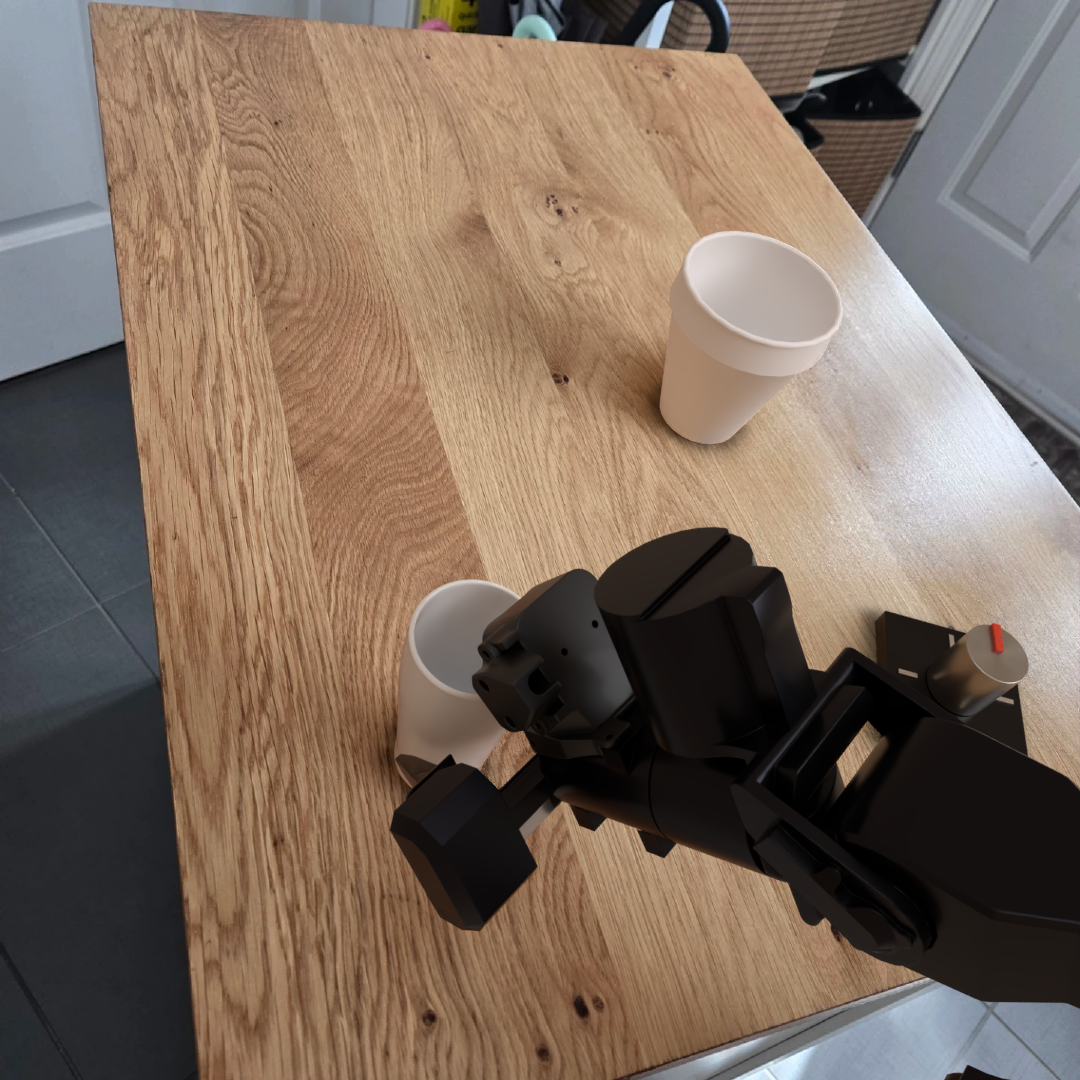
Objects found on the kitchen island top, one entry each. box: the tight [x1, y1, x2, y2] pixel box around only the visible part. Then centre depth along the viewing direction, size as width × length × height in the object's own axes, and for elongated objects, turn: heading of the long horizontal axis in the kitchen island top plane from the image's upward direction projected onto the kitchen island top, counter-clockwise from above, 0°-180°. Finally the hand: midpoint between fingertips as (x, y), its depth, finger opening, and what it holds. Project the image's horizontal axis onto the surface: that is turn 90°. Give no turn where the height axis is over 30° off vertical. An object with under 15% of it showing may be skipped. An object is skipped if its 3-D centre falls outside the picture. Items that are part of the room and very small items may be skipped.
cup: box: [659, 230, 844, 445], centre depth 74 cm, size 12×12×14 cm
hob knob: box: [927, 622, 1030, 716], centre depth 65 cm, size 4×4×5 cm
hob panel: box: [875, 610, 1029, 757], centre depth 68 cm, size 10×10×2 cm
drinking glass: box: [393, 578, 522, 789], centre depth 52 cm, size 7×7×15 cm
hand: (464, 707), depth 51 cm, fingers open, 9 cm apart
